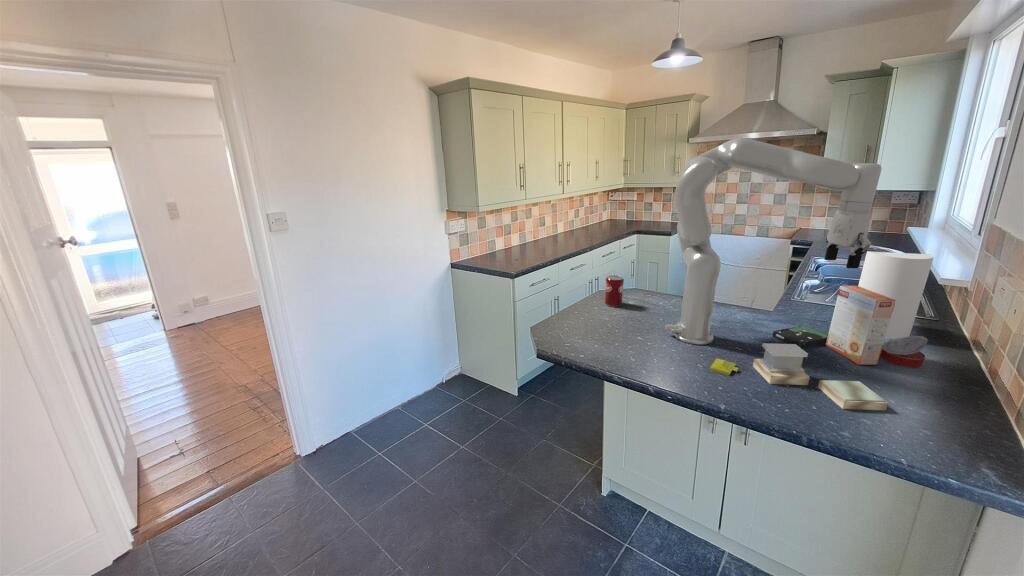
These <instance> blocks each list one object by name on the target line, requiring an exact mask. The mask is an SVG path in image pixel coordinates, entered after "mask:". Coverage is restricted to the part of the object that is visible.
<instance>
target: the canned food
mask: <svg viewBox="0 0 1024 576" xmlns="http://www.w3.org/2000/svg"><path fill="white" fill-rule="evenodd" d="M927 343H928V338H926V337H925V336H922V335H918V336H917V335H911V336H908V337H902V338H896V339H888V340H887V341H885V342H884V343H883V346H882V350H881V353H880V357H879V359H882V360H883V361H885V362H887V363H890V364H892V365H896V366H900V367H903V368H911V369H916V368H921V367H923V365H924V361H925V358H926V355H925V354H924V353H922V352H921V351H922V350H924V349H925V347H926V346H927Z"/></svg>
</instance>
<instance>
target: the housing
mask: <svg viewBox="0 0 1024 576" xmlns="http://www.w3.org/2000/svg"><path fill="white" fill-rule="evenodd" d="M761 346H762V348H763V349H764V353H763V358H759V359H760V360H759V362H760V363H761V364H762V365H763V366H764V367H765V368H766V369H767V370H768V371H769V372H778V373H804V372H805V369H804V368H802V365H803V360H804V358H808V356H809V353H808V352H806V351H805V350H804V348H800V347H799V346H797V345H796V344H787V343H765V342H764V343H762V345H761Z"/></svg>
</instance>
